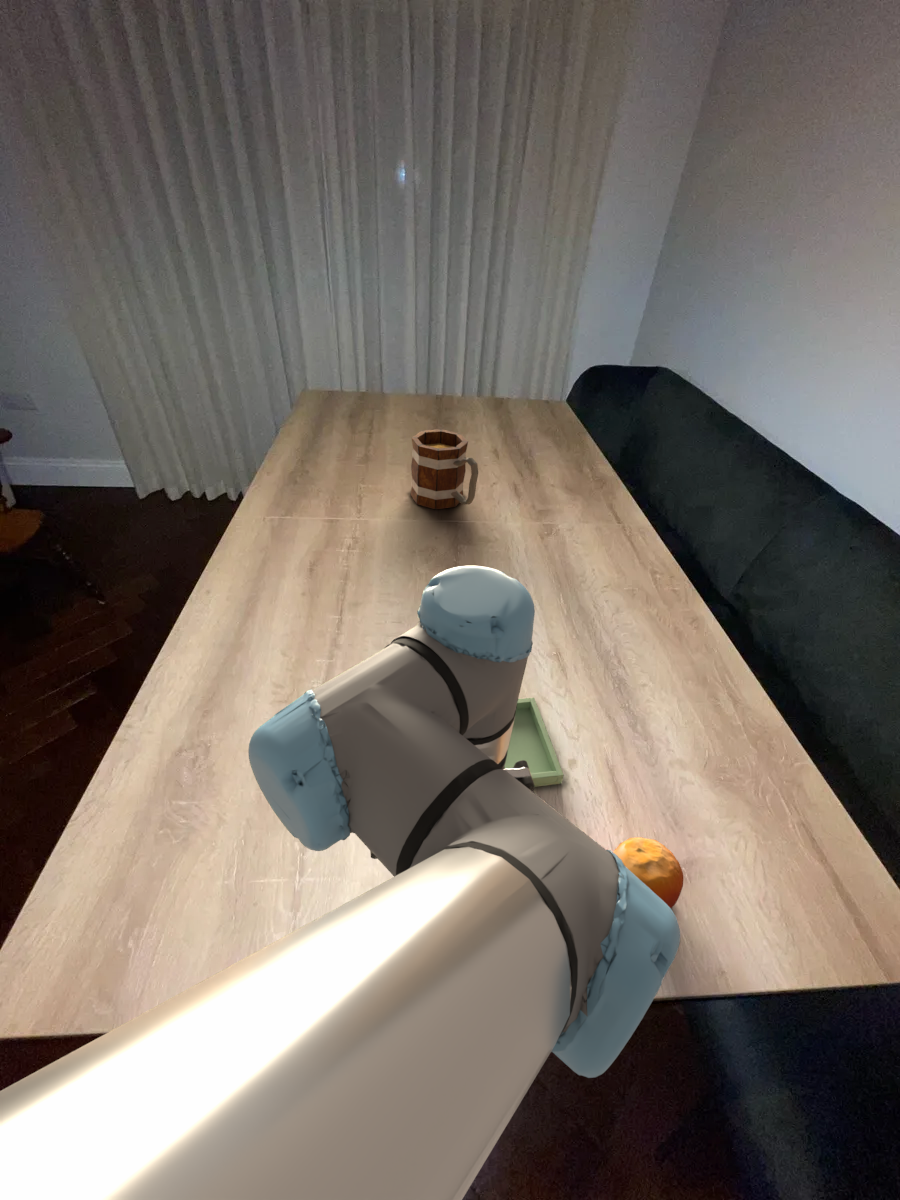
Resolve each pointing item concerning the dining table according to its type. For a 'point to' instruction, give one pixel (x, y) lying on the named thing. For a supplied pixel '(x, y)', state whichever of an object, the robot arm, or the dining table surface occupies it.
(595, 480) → the dining table surface
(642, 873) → the fruit
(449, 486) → the mug
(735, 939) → the dining table surface
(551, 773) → the tray
